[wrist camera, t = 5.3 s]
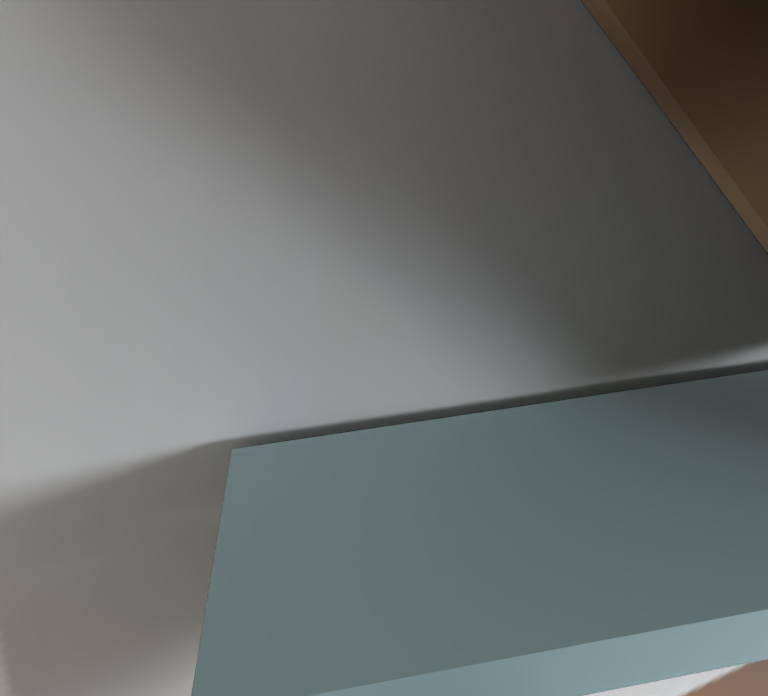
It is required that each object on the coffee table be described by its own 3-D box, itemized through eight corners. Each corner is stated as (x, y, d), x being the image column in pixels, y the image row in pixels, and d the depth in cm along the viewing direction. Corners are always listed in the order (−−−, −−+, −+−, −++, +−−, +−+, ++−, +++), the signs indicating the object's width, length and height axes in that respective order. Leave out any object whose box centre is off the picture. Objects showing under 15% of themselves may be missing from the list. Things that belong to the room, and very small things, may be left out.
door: (833, 360, 11) (1155, 536, 7) (816, 412, 12) (1104, 603, 8) (231, 449, 10) (187, 718, 6) (245, 501, 11) (213, 780, 7)
